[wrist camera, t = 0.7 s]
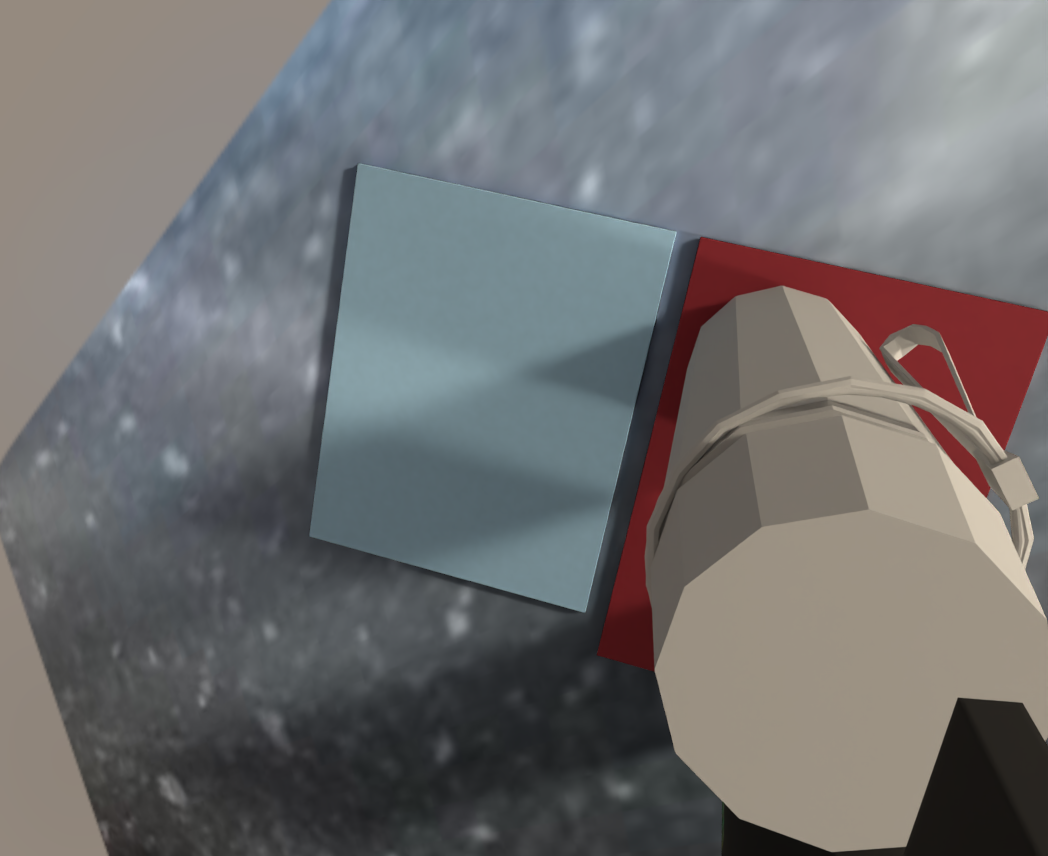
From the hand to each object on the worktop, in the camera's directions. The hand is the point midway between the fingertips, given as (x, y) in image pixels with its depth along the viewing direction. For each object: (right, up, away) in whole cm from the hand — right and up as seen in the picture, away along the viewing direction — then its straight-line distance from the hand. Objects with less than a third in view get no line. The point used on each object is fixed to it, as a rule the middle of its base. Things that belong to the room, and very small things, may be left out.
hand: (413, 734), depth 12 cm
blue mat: (-1, +5, +31) cm, 31 cm away
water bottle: (+13, +7, +27) cm, 31 cm away
